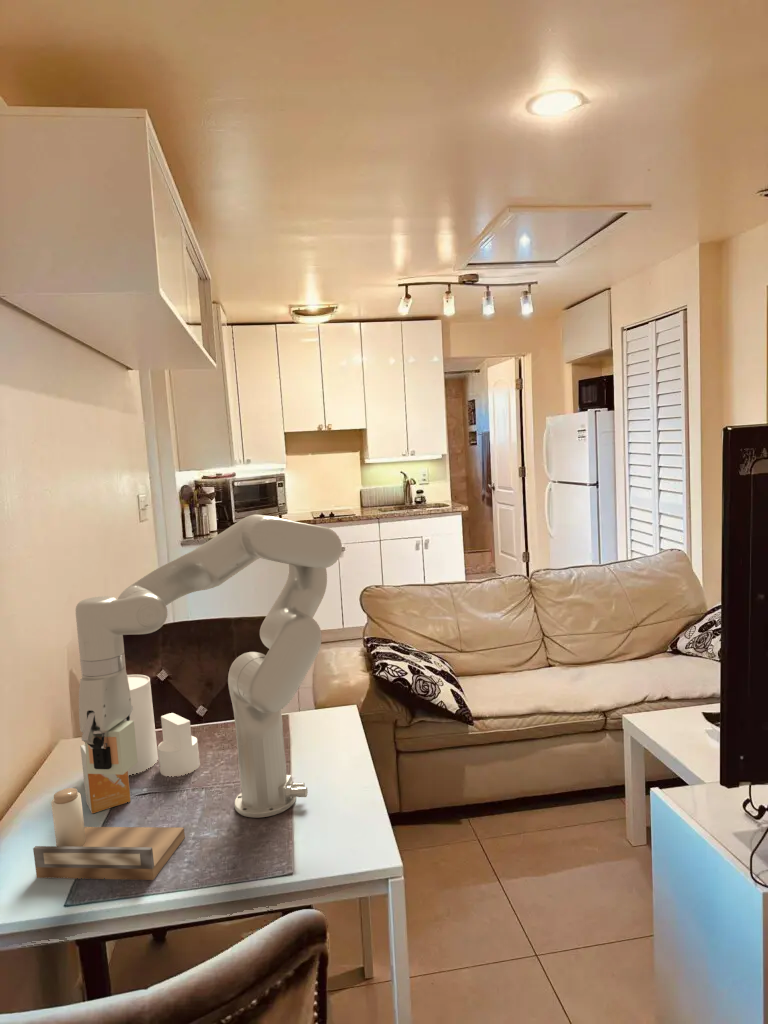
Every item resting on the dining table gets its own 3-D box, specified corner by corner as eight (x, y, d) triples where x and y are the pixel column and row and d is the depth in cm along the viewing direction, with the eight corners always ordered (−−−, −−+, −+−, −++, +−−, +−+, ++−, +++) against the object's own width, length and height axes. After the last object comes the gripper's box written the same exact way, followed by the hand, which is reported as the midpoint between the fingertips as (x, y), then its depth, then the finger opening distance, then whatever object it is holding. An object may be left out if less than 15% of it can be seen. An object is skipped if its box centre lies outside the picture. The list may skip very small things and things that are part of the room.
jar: (91, 837, 130) (85, 786, 129) (76, 852, 125) (70, 800, 124) (66, 836, 131) (61, 786, 130) (50, 852, 126) (44, 800, 125)
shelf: (184, 837, 131) (182, 810, 131) (153, 880, 118) (149, 850, 118) (78, 836, 134) (75, 809, 134) (35, 878, 121) (32, 849, 121)
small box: (91, 815, 143) (84, 754, 141) (86, 803, 148) (79, 744, 147) (131, 801, 147) (125, 743, 146) (125, 790, 152) (118, 734, 151)
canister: (85, 774, 162) (76, 692, 160) (124, 750, 174) (116, 673, 173) (133, 779, 157) (124, 695, 156) (169, 754, 170) (161, 675, 168)
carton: (103, 761, 130) (99, 720, 129) (137, 762, 129) (133, 720, 128) (87, 774, 125) (83, 731, 124) (122, 775, 124) (118, 732, 123)
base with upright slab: (153, 769, 162) (148, 720, 161) (188, 755, 168) (183, 708, 167) (171, 780, 156) (166, 729, 155) (206, 766, 162) (202, 716, 161)
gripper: (110, 651, 134) (118, 741, 136) (54, 680, 117) (64, 782, 119) (146, 651, 133) (154, 742, 134) (94, 680, 116) (104, 784, 118)
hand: (112, 760), depth 127 cm, fingers closed on carton, 5 cm apart
